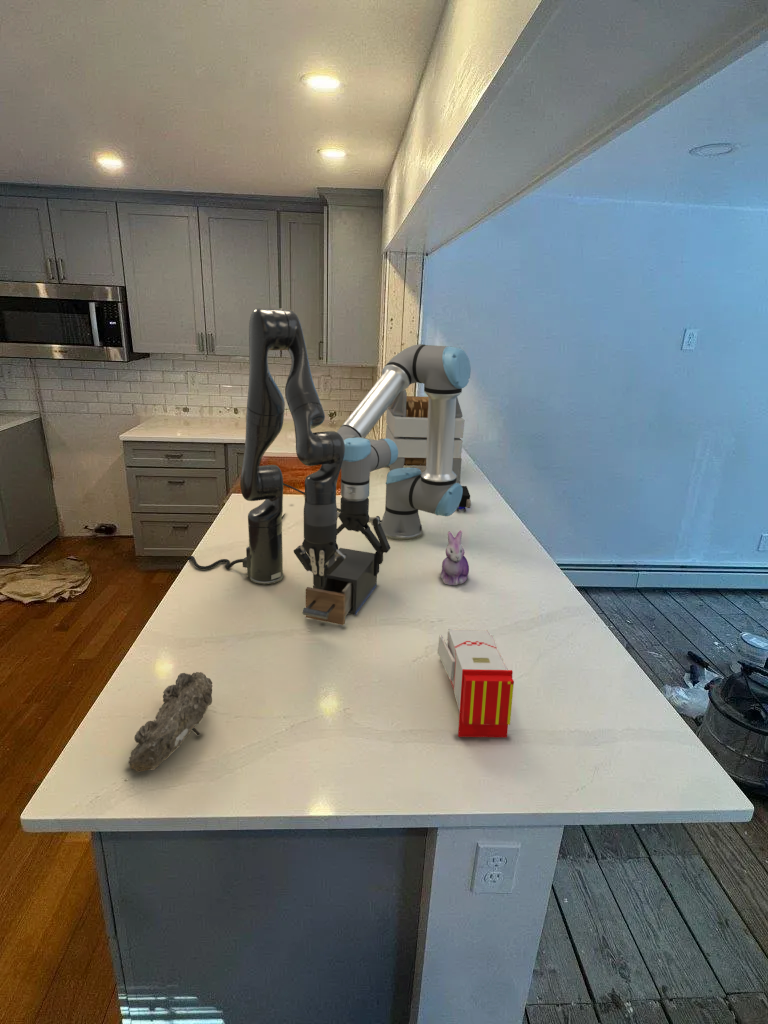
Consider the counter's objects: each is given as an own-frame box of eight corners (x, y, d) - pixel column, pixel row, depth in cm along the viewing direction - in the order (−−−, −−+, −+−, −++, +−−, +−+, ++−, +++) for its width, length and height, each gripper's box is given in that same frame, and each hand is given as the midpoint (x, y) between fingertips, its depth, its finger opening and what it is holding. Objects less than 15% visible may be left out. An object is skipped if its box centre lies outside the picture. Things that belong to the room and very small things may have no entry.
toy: (488, 613, 130) (523, 677, 101) (484, 667, 133) (517, 744, 104) (435, 612, 130) (455, 676, 101) (432, 666, 133) (451, 743, 103)
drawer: (333, 638, 134) (334, 608, 131) (294, 629, 137) (294, 600, 134) (364, 595, 154) (365, 569, 151) (330, 589, 157) (330, 562, 154)
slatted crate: (382, 463, 289) (386, 382, 275) (445, 464, 293) (451, 384, 279) (390, 482, 257) (394, 392, 243) (460, 483, 261) (468, 394, 247)
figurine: (450, 589, 161) (455, 540, 156) (431, 574, 170) (435, 528, 165) (477, 583, 166) (482, 536, 161) (457, 569, 174) (462, 523, 169)
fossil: (162, 673, 113) (214, 640, 108) (196, 704, 116) (248, 673, 111) (102, 765, 93) (163, 730, 88) (145, 799, 96) (206, 767, 91)
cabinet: (355, 615, 146) (356, 580, 143) (315, 606, 149) (315, 572, 146) (376, 585, 162) (378, 553, 159) (339, 578, 165) (340, 547, 162)
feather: (292, 507, 224) (294, 503, 223) (275, 531, 197) (278, 527, 197) (288, 505, 224) (291, 501, 223) (271, 528, 197) (273, 524, 197)
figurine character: (470, 516, 223) (465, 500, 237) (473, 499, 220) (467, 484, 233) (453, 516, 223) (449, 500, 236) (455, 498, 220) (451, 483, 233)
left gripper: (286, 520, 127) (287, 589, 133) (341, 529, 123) (340, 599, 129) (300, 510, 134) (301, 576, 139) (353, 518, 130) (351, 585, 136)
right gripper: (305, 495, 150) (306, 567, 157) (396, 507, 143) (392, 583, 150) (317, 487, 157) (317, 557, 164) (404, 499, 150) (400, 571, 157)
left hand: (320, 587), depth 134 cm, fingers closed
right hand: (353, 569), depth 157 cm, fingers open, 13 cm apart
